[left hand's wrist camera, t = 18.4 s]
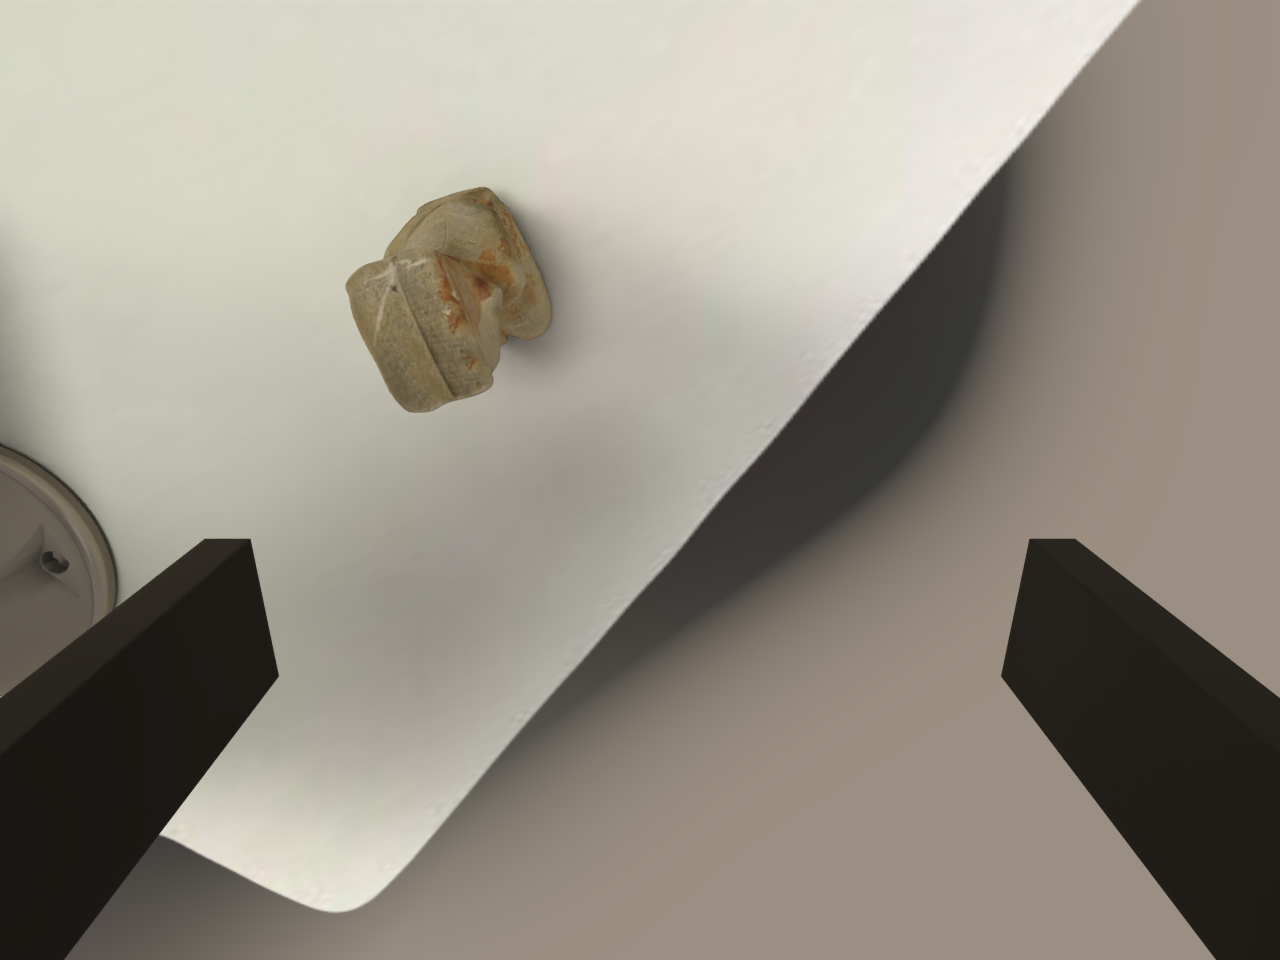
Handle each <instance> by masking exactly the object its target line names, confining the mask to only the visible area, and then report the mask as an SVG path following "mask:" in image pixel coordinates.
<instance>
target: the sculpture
mask: <svg viewBox="0 0 1280 960" xmlns="http://www.w3.org/2000/svg"><path fill="white" fill-rule="evenodd" d="M345 289H346V291H347V292H348V295H349V300H350V305H351V310H352V313H353V317H354V319H355V322H356V324H357V327H358V329H359V331H360V334H361V336H362V338H363V340H364V342H365V344H366V345H367V347H368V349H369V351H370V353H371V355H372V357H373V358H374V360H375V362H376V364H377V366H378V368H379V370H380V373H381V375H382V377H383V379H384V381H385V383H386V385H387V387H388V389H389V391H390V393H391V394H392V396H393V397H394V399H395V400H396V401H397V402H398V403H399V404H400V405H401V406H402V407H403V408H404V409H405V410H406V411H408V412H415V413H422V412H429V411H433V410H435V409H437V408H439V407H441V406H442V405H444V404H447V403H449V402H452V401H455V400H459V399H463V398H468V397H472V396H475V395H478V394H480V393H482V392H485V391H487V390H488V389H489V388H490V387H491V386H492V384H493V377H492V373H493V371H494V370H495V368H496V366H497V364H498V362H499V359H500V346H502V345H503V344H504V343H505V342H506V341H507V339H508V335H512V336H516V337H518V338H520V339H522V340H529V339H532V338H535V337H538V336H540V335H542V334H543V333H544V332H545V330H546V329H547V328H548V326H549V324H550V320H551V307H550V302H549V297H548V294H547V291H546V288H545V285H544V282H543V279H542V277H541V274H540V272H539V270H538V268H537V265H536V263H535V261H534V259H533V257H532V255H531V253H530V251H529V249H528V247H527V245H526V243H525V241H524V239H523V237H522V235H521V233H520V231H519V229H518V227H517V226H516V224H515V222H514V220H513V218H512V216H511V214H510V212H509V210H508V209H507V207H506V206H505V204H504V203H502V202H501V201H500V200H499V198H498V197H497V196H496V195H495V194H494V193H493V192H492V191H491V190H490V189H489V188H486V187H479V188H474V189H470V190H465V191H461V192H457V193H454V194H451V195H448V196H445V197H442V198H439V199H436V200H433V201H430V202H428V203H426V204H424V205H423V206H421V207H420V208H419V209H418V211H417V214H416V215H415V216H414V217H412V218H411V219H410V220H409V221H408V223H407V224H406V225H405V226H404V227H403V228H402V230H401V231H400V232H399V233H398V234H397V236H396V237H395V238H394V239H393V241H392V242H391V243H390V244H389V246H388V248H387V249H386V251H385V254H384V258H383V260H380V261H376V262H373V263H369V264H367V265H364V266H363V267H361V268H359V269H358V270H357V271H356V272H355V273H354V274H353V275H352V276H351V277H350V278H349V279H348V281H347V283H346V287H345Z"/></svg>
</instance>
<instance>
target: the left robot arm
mask: <svg viewBox="0 0 1280 960" xmlns="http://www.w3.org/2000/svg"><path fill="white" fill-rule="evenodd" d="M115 588H116V585H115V574H114V569H113V563H112V560H111V557H110V553H109V551H108V548H107V546H106V543H105V541H104V539H103V537H102V535H101V533H100V531H99V529H98V527H97V526H96V524H95V523H94V521H93V520H92V518H91V516H90V515H89V514H88V513H87V511H86V510H85V509H84V507H83V506H82V505H81V504H80V502H79V501H78V500H77V499H76V498H75V497H74V496H73V495H72V494H71V493H70V492H69V491H68V490H67V489H66V488H65V487H64V486H63V485H62V484H61V483H60V482H59V481H57V480H56V479H55V478H54V477H52V476H51V475H50V474H49V473H47V472H46V471H44V470H43V469H42V468H40V467H39V466H37V465H36V464H34V463H33V462H31V461H29V460H28V459H26V458H24V457H23V456H21V455H19V454H17V453H15V452H13V451H11V450H9V449H6V448H4V447H2V446H0V696H2V697H1V698H0V960H64V959H65V958H66V956H67V955H68V954H69V952H70V951H71V950H72V948H73V947H74V946H75V944H76V943H77V942H78V941H79V939H80V938H81V937H82V935H83V934H84V933H85V931H86V930H87V929H88V927H89V926H90V925H91V923H92V922H93V921H94V919H95V918H96V917H97V915H98V914H99V913H100V912H101V910H102V909H103V908H104V906H105V905H106V904H107V902H108V901H109V900H110V898H111V897H112V896H113V894H114V893H115V892H116V890H117V889H118V888H119V886H120V885H121V884H122V883H123V881H124V880H125V879H126V877H127V876H128V875H129V873H130V872H131V871H132V869H133V868H134V867H135V865H136V864H137V863H138V861H139V860H140V859H141V857H142V856H143V855H144V854H145V852H146V851H147V850H148V848H149V847H150V846H151V844H152V843H153V842H154V840H155V839H156V838H157V836H158V835H159V834H160V832H161V831H162V830H163V828H164V827H165V826H166V825H167V823H168V822H169V821H170V819H171V818H172V817H173V815H174V814H175V813H176V811H177V810H178V809H179V807H180V806H181V805H182V803H183V802H184V801H185V799H186V798H187V797H188V796H189V794H190V793H191V792H192V790H193V789H194V788H195V786H196V785H197V784H198V782H199V781H200V780H201V778H202V777H203V776H204V774H205V773H206V772H207V770H208V769H209V768H210V767H211V765H212V764H213V763H214V761H215V760H216V759H217V757H218V756H219V755H220V753H221V752H222V751H223V749H224V748H225V747H226V745H227V744H228V743H229V741H230V740H231V739H232V738H233V736H234V735H235V734H236V732H237V731H238V730H239V728H240V727H241V726H242V724H243V723H244V722H245V720H246V719H247V718H248V716H249V715H250V714H251V712H252V711H253V710H254V709H255V707H256V706H257V705H258V703H259V702H260V701H261V699H262V698H263V697H264V695H265V694H266V693H267V691H268V690H269V689H270V687H271V686H272V685H273V683H274V682H275V681H276V679H277V678H278V677H279V674H278V669H277V665H276V660H275V655H274V650H273V645H272V641H271V636H270V631H269V626H268V621H267V616H266V612H265V607H264V602H263V597H262V592H261V587H260V583H259V578H258V573H257V568H256V563H255V559H254V554H253V549H252V544H251V539H204V540H203V541H201V542H200V543H199V544H198V545H196V546H195V547H194V548H192V549H191V550H190V551H189V552H187V553H186V554H185V555H183V556H182V557H181V558H180V559H178V560H177V561H176V562H174V563H173V564H172V565H171V566H169V567H168V568H167V569H165V570H164V571H163V572H162V573H160V574H159V575H158V576H156V577H155V578H154V579H153V580H151V581H150V582H149V583H147V584H146V585H145V586H144V587H142V588H141V589H140V590H139V591H137V592H136V593H135V594H133V595H132V596H131V597H130V598H128V599H127V600H126V601H124V602H123V603H122V604H121V605H119V606H118V607H117V608H115V609H114V610H113V607H114V601H115ZM1001 677H1002V678H1003V680H1004V681H1005V682H1006V683H1007V685H1008V686H1009V687H1010V689H1011V690H1012V691H1013V693H1014V694H1015V695H1016V697H1017V698H1018V699H1019V701H1020V702H1021V703H1022V704H1023V706H1024V707H1025V708H1026V710H1027V711H1028V712H1029V714H1030V715H1031V716H1032V718H1033V719H1034V720H1035V722H1036V723H1037V724H1038V726H1039V727H1040V728H1041V730H1042V731H1043V732H1044V734H1045V735H1046V736H1047V737H1048V739H1049V740H1050V741H1051V743H1052V744H1053V745H1054V747H1055V748H1056V749H1057V751H1058V752H1059V753H1060V755H1061V756H1062V757H1063V759H1064V760H1065V761H1066V763H1067V764H1068V765H1069V766H1070V768H1071V769H1072V770H1073V772H1074V773H1075V774H1076V776H1077V777H1078V778H1079V780H1080V781H1081V782H1082V784H1083V785H1084V786H1085V787H1086V789H1087V790H1088V792H1089V793H1090V794H1091V795H1092V797H1093V798H1094V799H1095V801H1096V802H1097V803H1098V805H1099V806H1100V807H1101V809H1102V810H1103V811H1104V813H1105V814H1106V815H1107V817H1108V818H1109V819H1110V821H1111V822H1112V823H1113V825H1114V826H1115V827H1116V828H1117V830H1118V831H1119V832H1120V834H1121V835H1122V836H1123V838H1124V839H1125V840H1126V842H1127V843H1128V844H1129V846H1130V847H1131V848H1132V850H1133V851H1134V852H1135V854H1136V855H1137V856H1138V857H1139V859H1140V860H1141V861H1142V863H1143V864H1144V865H1145V867H1146V868H1147V869H1148V871H1149V872H1150V873H1151V875H1152V876H1153V877H1154V879H1155V880H1156V881H1157V883H1158V884H1159V885H1160V886H1161V888H1162V889H1163V890H1164V892H1165V893H1166V894H1167V896H1168V897H1169V898H1170V900H1171V901H1172V902H1173V904H1174V905H1175V906H1176V907H1177V909H1178V910H1179V912H1180V913H1181V914H1182V915H1183V917H1184V918H1185V919H1186V921H1187V922H1188V923H1189V925H1190V926H1191V927H1192V929H1193V930H1194V931H1195V933H1196V934H1197V935H1198V937H1199V938H1200V939H1201V941H1202V942H1203V943H1204V944H1205V946H1206V947H1207V948H1208V950H1209V951H1210V952H1211V954H1212V955H1213V956H1214V958H1215V959H1216V960H1280V698H1279V697H1278V696H1276V695H1275V694H1274V693H1272V692H1271V691H1270V690H1269V689H1267V688H1266V687H1265V686H1264V685H1262V684H1261V683H1260V682H1258V681H1257V680H1256V679H1255V678H1253V677H1252V676H1251V675H1249V674H1248V673H1247V672H1246V671H1244V670H1243V669H1242V668H1240V667H1239V666H1238V665H1237V664H1235V663H1234V662H1233V661H1231V660H1230V659H1229V658H1228V657H1226V656H1225V655H1224V654H1222V653H1221V652H1220V651H1219V650H1217V649H1216V648H1215V647H1213V646H1212V645H1211V644H1210V643H1208V642H1207V641H1206V640H1204V639H1203V638H1202V637H1201V636H1199V635H1198V634H1197V633H1195V632H1194V631H1193V630H1192V629H1190V628H1189V627H1188V626H1186V625H1185V624H1184V623H1183V622H1181V621H1180V620H1179V619H1177V618H1176V617H1175V616H1174V615H1172V614H1171V613H1170V612H1168V611H1167V610H1166V609H1165V608H1163V607H1162V606H1161V605H1159V604H1158V603H1157V602H1156V601H1154V600H1153V599H1152V598H1150V597H1149V596H1148V595H1147V594H1145V593H1144V592H1143V591H1141V590H1140V589H1139V588H1138V587H1136V586H1135V585H1134V584H1132V583H1131V582H1130V581H1129V580H1127V579H1126V578H1125V577H1124V576H1122V575H1121V574H1120V573H1118V572H1117V571H1116V570H1114V569H1113V568H1112V567H1111V566H1109V565H1108V564H1107V563H1105V562H1104V561H1103V560H1102V559H1100V558H1099V557H1098V556H1097V555H1095V554H1094V553H1093V552H1091V551H1090V550H1089V549H1088V548H1086V547H1085V546H1084V545H1082V544H1081V543H1080V542H1079V541H1077V540H1076V539H1029V544H1028V549H1027V554H1026V559H1025V563H1024V568H1023V573H1022V578H1021V583H1020V587H1019V592H1018V597H1017V602H1016V607H1015V612H1014V616H1013V621H1012V626H1011V631H1010V636H1009V641H1008V645H1007V650H1006V655H1005V660H1004V665H1003V669H1002V674H1001ZM3 695H4V696H3Z"/></svg>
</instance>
